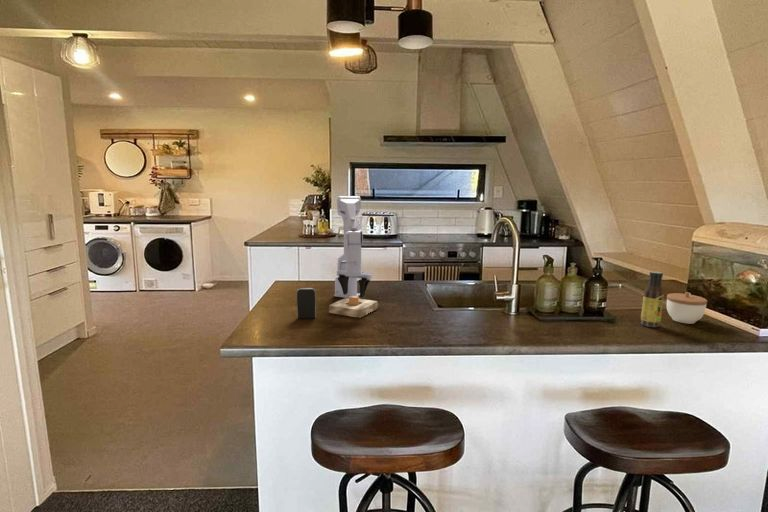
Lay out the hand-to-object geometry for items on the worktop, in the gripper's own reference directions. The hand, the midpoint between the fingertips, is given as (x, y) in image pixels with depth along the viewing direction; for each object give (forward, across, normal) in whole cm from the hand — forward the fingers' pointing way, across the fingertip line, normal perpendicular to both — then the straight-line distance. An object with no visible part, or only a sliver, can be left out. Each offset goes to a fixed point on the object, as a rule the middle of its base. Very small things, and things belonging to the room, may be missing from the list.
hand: (353, 295), depth 175 cm
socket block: (+6, 0, 0) cm, 6 cm away
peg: (+6, 0, 0) cm, 6 cm away
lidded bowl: (+6, +116, +49) cm, 126 cm away
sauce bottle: (+6, +104, +36) cm, 110 cm away
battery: (+6, -11, -16) cm, 20 cm away
